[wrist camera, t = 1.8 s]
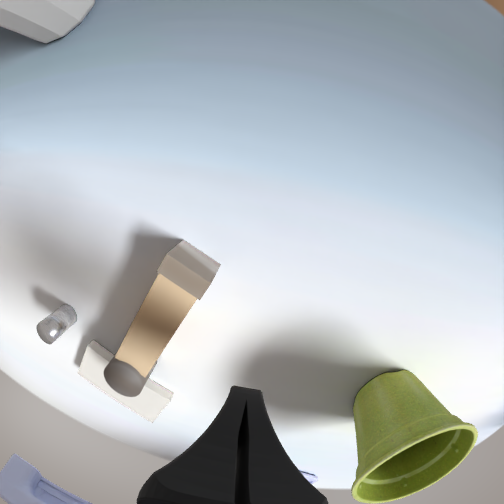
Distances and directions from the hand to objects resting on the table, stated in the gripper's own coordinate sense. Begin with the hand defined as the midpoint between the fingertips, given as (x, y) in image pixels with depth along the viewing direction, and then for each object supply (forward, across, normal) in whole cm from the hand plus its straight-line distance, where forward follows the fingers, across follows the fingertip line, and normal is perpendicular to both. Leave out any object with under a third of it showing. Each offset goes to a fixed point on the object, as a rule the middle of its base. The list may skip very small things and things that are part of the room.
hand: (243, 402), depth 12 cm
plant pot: (+8, -13, +5) cm, 16 cm away
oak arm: (+7, +6, +1) cm, 10 cm away
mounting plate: (+7, +9, +8) cm, 15 cm away
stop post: (+7, +15, +3) cm, 17 cm away
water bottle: (+8, +19, -23) cm, 31 cm away
